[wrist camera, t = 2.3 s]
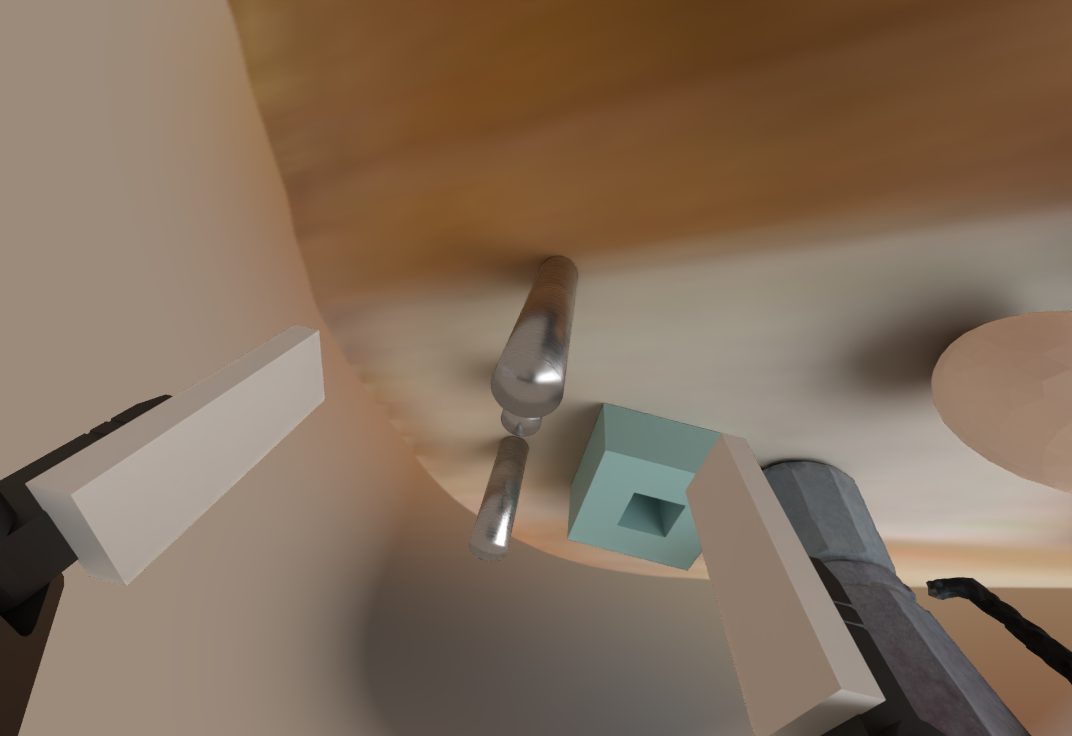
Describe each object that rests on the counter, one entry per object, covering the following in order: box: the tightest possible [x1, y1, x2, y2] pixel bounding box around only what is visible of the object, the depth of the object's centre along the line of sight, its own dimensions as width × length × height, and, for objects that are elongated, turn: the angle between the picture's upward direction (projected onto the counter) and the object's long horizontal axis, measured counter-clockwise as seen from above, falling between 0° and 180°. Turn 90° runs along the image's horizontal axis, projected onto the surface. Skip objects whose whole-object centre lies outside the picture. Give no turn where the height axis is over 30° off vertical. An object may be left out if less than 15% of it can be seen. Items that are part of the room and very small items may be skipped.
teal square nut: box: [567, 403, 721, 571], centre depth 30 cm, size 10×10×6 cm
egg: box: [931, 311, 1072, 493], centre depth 20 cm, size 9×9×12 cm
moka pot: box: [762, 462, 1072, 736], centre depth 24 cm, size 10×15×20 cm, turn 134°
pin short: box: [501, 409, 542, 436], centre depth 27 cm, size 3×3×6 cm
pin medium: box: [469, 436, 529, 562], centre depth 29 cm, size 3×3×10 cm
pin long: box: [491, 256, 578, 418], centre depth 19 cm, size 3×3×14 cm
